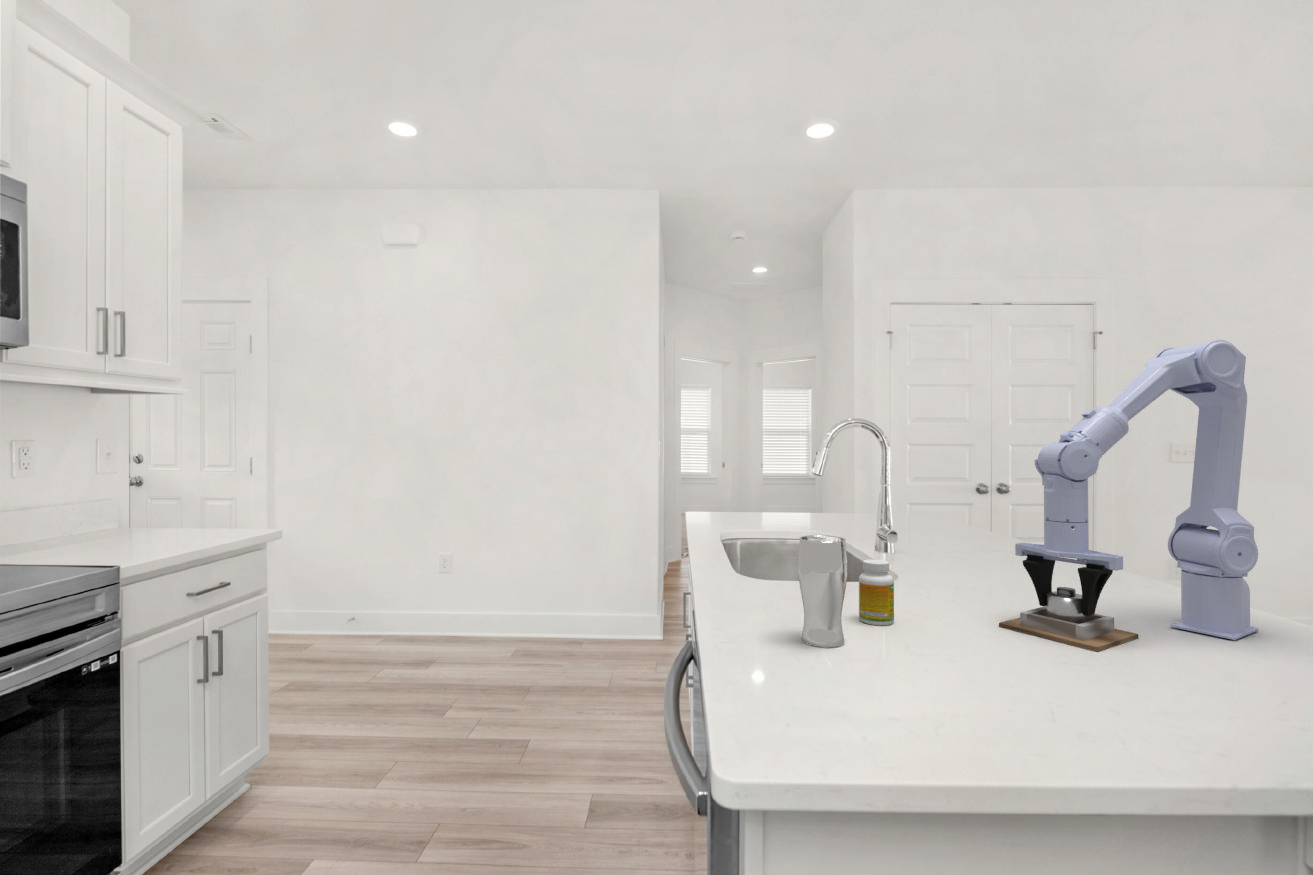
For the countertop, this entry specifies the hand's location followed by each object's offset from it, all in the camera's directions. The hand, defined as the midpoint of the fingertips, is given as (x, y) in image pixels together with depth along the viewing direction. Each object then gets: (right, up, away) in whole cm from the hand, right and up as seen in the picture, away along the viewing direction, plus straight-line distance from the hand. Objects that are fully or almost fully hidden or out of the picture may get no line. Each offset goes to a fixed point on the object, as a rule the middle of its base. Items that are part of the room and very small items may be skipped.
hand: (1066, 609), depth 97 cm
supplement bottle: (-27, -4, +6) cm, 28 cm away
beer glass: (-38, -4, -4) cm, 39 cm away
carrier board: (0, -3, 0) cm, 3 cm away
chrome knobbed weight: (0, -3, 0) cm, 3 cm away
